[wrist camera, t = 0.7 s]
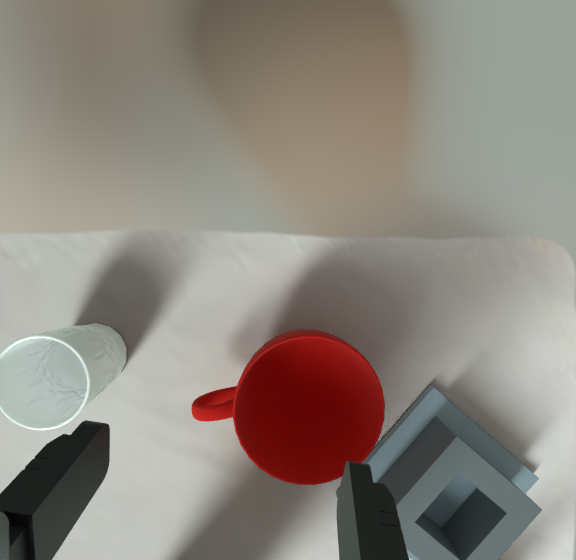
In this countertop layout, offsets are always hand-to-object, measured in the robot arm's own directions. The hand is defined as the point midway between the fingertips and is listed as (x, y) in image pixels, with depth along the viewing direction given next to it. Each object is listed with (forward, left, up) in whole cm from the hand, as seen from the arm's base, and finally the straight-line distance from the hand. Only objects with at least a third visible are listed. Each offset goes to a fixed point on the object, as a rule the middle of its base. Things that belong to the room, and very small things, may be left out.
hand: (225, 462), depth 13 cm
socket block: (-1, -27, -29) cm, 40 cm away
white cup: (-14, +11, -30) cm, 34 cm away
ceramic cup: (-3, -6, -30) cm, 30 cm away
